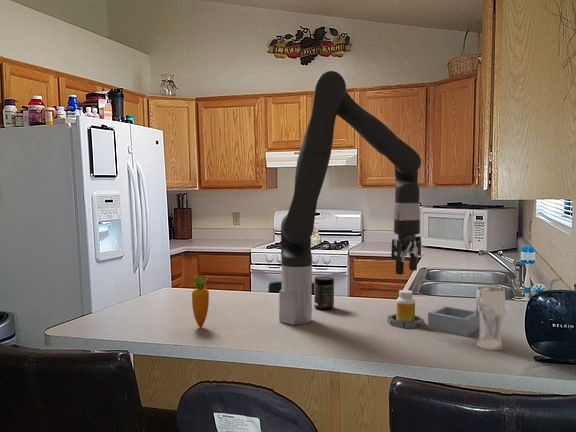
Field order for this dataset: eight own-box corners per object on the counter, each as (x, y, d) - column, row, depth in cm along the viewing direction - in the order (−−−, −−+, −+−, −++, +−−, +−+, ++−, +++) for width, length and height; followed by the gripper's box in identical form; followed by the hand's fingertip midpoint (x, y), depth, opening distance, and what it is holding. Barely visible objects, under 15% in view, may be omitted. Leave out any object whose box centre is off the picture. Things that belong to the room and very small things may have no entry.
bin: (466, 336, 128) (467, 319, 128) (427, 328, 136) (428, 312, 135) (481, 327, 137) (481, 312, 136) (443, 320, 144) (444, 305, 144)
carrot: (212, 326, 137) (212, 275, 136) (204, 330, 132) (203, 278, 132) (197, 324, 139) (197, 274, 138) (188, 329, 134) (188, 277, 133)
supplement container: (338, 309, 157) (338, 278, 157) (321, 311, 154) (321, 280, 153) (326, 305, 163) (326, 275, 162) (310, 307, 160) (310, 277, 159)
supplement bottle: (415, 326, 138) (415, 293, 137) (396, 325, 139) (397, 292, 138) (414, 321, 143) (414, 289, 142) (396, 320, 144) (396, 289, 143)
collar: (413, 330, 134) (413, 324, 134) (382, 323, 140) (382, 318, 140) (428, 322, 141) (428, 317, 141) (398, 316, 148) (398, 312, 148)
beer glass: (502, 353, 115) (503, 292, 114) (472, 347, 119) (473, 289, 118) (505, 345, 121) (507, 287, 120) (477, 340, 125) (478, 284, 124)
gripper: (406, 216, 147) (406, 268, 148) (383, 218, 136) (383, 274, 137) (429, 217, 142) (428, 270, 143) (407, 219, 131) (406, 277, 132)
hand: (406, 272), depth 140 cm, fingers open, 8 cm apart
